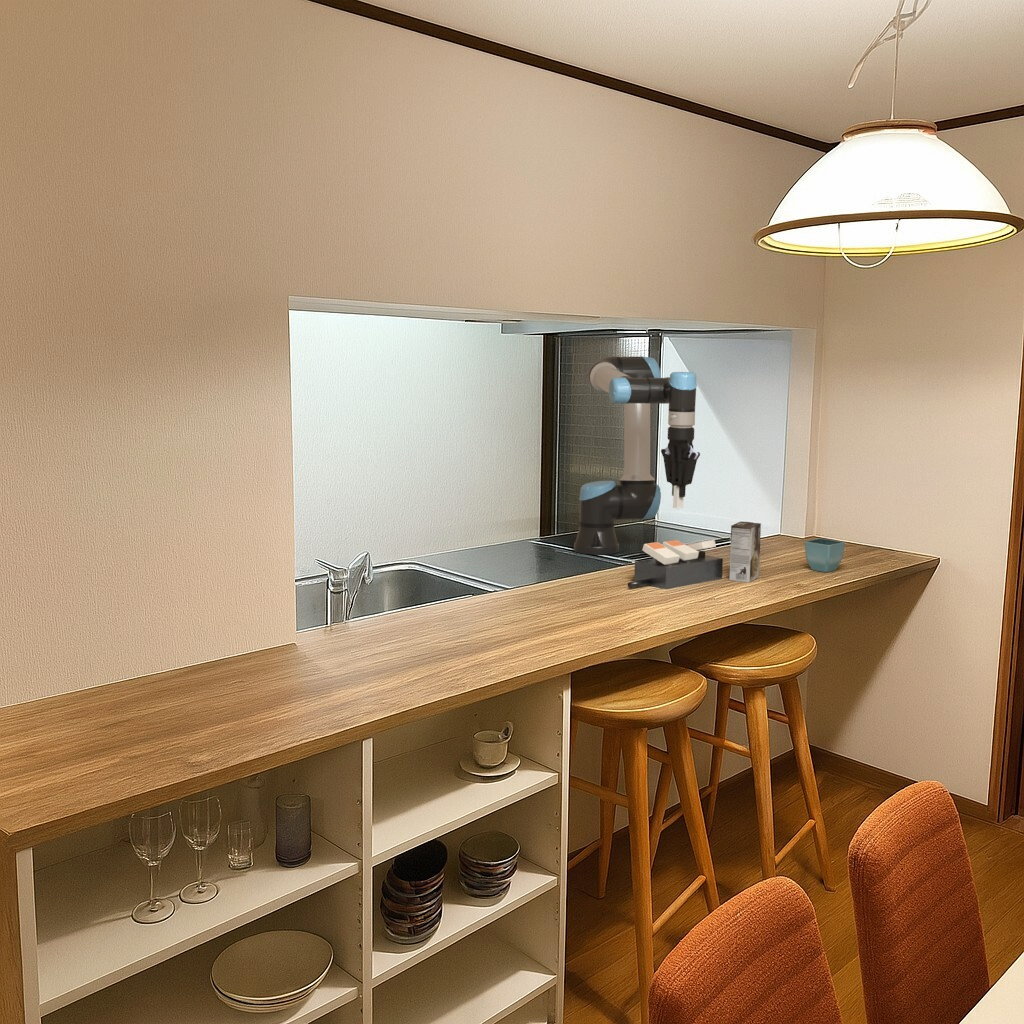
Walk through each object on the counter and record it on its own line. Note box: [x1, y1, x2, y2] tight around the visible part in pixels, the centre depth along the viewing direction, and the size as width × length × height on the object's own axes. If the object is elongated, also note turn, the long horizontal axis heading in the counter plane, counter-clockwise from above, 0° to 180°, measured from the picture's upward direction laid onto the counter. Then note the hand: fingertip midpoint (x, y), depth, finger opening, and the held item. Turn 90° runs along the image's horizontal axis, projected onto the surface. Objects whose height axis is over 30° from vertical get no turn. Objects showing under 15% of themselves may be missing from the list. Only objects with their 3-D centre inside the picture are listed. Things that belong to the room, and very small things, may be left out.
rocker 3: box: [686, 539, 717, 551], centre depth 285 cm, size 9×6×2 cm, turn 38°
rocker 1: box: [642, 541, 680, 565], centre depth 274 cm, size 9×6×2 cm, turn 39°
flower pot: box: [804, 538, 846, 573], centre depth 296 cm, size 9×9×9 cm
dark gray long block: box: [627, 550, 724, 590], centre depth 278 cm, size 12×32×7 cm, turn 129°
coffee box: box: [728, 521, 762, 583], centre depth 283 cm, size 9×6×16 cm
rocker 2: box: [661, 539, 699, 560], centre depth 279 cm, size 9×6×2 cm, turn 39°
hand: (678, 507), depth 283 cm, fingers closed
